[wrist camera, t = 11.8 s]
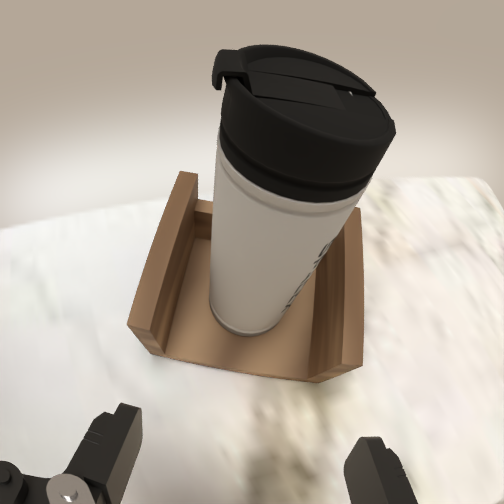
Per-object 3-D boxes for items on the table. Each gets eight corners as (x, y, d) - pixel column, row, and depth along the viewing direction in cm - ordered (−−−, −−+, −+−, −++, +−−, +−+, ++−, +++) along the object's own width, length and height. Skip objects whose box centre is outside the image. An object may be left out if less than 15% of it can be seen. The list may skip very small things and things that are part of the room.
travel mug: (204, 267, 27) (214, 27, 10) (279, 266, 28) (370, 51, 11) (205, 338, 24) (211, 114, 7) (288, 335, 25) (440, 144, 8)
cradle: (150, 353, 24) (126, 324, 17) (184, 230, 30) (179, 171, 23) (318, 383, 24) (362, 365, 17) (326, 258, 31) (360, 208, 23)
